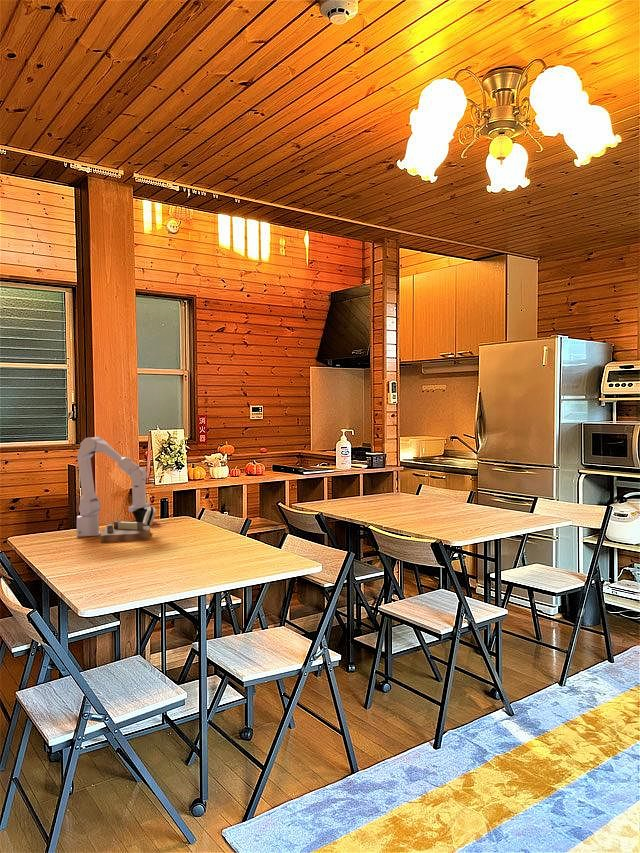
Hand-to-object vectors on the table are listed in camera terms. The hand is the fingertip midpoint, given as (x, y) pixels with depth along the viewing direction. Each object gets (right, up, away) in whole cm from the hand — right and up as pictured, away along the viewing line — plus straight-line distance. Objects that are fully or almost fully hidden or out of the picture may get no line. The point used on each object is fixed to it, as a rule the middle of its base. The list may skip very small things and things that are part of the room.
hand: (139, 525), depth 294 cm
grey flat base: (-5, -5, -4) cm, 8 cm away
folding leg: (-5, -1, -1) cm, 5 cm away
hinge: (-4, -4, +29) cm, 30 cm away
